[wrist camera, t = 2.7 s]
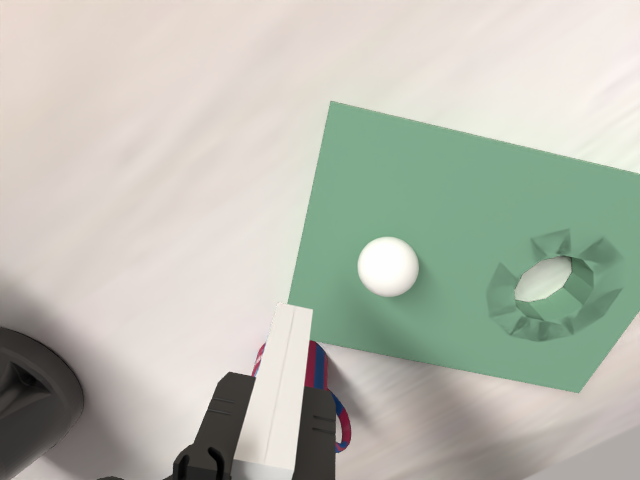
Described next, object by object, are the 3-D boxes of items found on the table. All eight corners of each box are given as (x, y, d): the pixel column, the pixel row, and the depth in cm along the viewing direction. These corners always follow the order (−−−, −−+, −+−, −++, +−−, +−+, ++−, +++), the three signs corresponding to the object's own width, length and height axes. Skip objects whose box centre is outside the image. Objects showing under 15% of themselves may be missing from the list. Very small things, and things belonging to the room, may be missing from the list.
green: (284, 315, 30) (280, 334, 28) (330, 100, 23) (330, 102, 21) (561, 371, 32) (578, 393, 29) (687, 185, 24) (724, 195, 22)
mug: (289, 321, 30) (278, 381, 24) (366, 381, 33) (373, 449, 27) (242, 361, 33) (221, 425, 26) (318, 414, 35) (314, 485, 29)
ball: (349, 271, 25) (352, 302, 22) (363, 222, 24) (369, 246, 20) (401, 282, 25) (413, 314, 22) (419, 234, 24) (434, 260, 20)
